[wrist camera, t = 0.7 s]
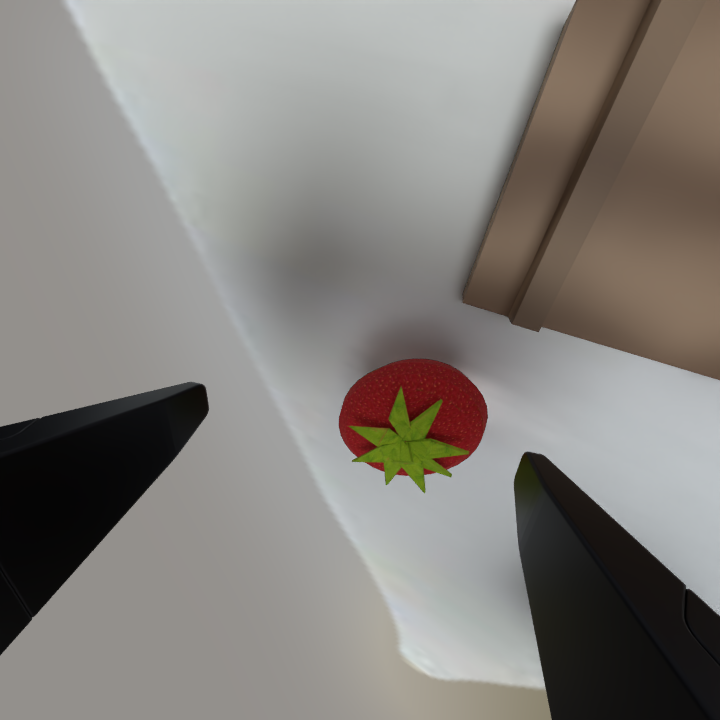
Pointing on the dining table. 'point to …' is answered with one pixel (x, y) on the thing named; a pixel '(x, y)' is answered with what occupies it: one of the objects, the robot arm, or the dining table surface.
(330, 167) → the dining table surface
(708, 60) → the stand
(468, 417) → the strawberry
